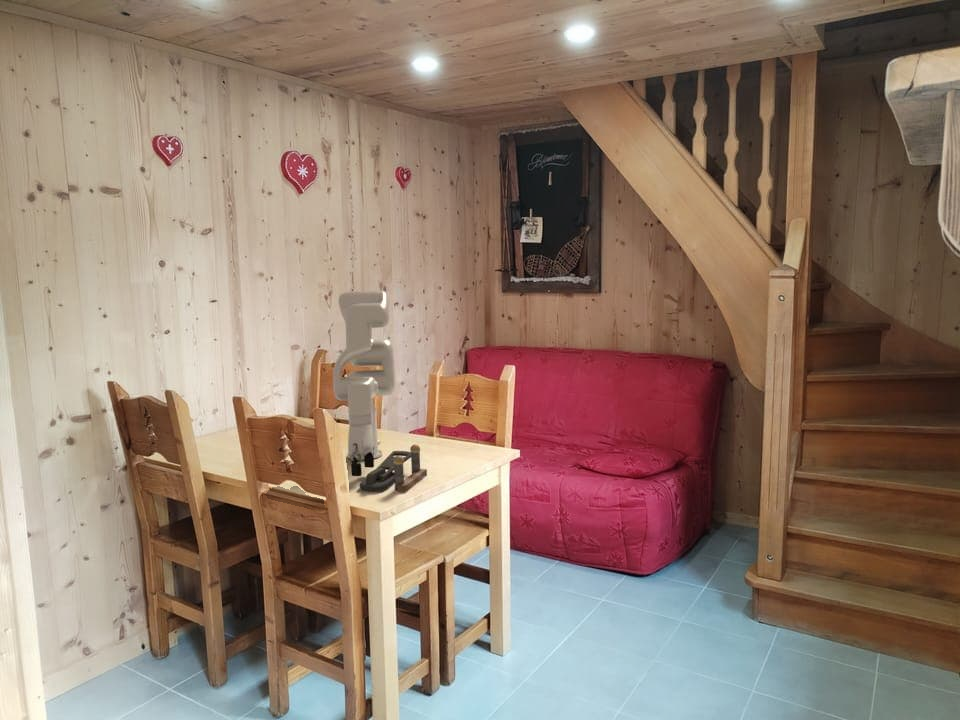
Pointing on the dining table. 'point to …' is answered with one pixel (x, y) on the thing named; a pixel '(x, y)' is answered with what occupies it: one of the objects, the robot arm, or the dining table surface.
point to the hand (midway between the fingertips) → (363, 471)
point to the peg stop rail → (416, 474)
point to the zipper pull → (382, 474)
